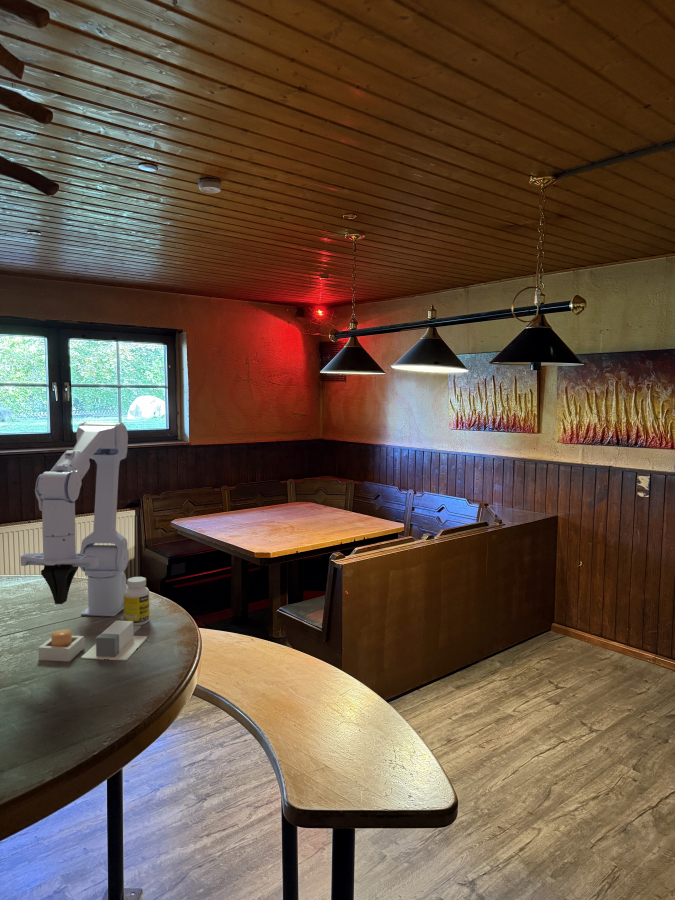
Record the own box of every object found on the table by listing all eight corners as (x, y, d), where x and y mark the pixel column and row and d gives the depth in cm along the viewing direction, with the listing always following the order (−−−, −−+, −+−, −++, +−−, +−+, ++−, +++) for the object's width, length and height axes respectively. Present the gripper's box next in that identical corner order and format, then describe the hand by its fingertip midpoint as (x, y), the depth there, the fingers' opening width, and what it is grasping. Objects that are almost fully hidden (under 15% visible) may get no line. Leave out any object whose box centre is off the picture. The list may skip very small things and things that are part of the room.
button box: (55, 646, 121) (54, 634, 121) (84, 648, 121) (84, 636, 121) (38, 660, 115) (38, 647, 115) (69, 661, 115) (69, 648, 115)
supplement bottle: (141, 627, 132) (141, 584, 131) (119, 625, 133) (118, 581, 132) (154, 618, 137) (153, 576, 136) (132, 616, 138) (131, 574, 137)
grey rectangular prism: (116, 637, 126) (116, 619, 126) (133, 637, 126) (133, 620, 125) (96, 656, 117) (95, 637, 117) (114, 656, 117) (114, 638, 116)
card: (113, 626, 132) (113, 624, 132) (140, 627, 132) (140, 625, 132) (105, 633, 128) (105, 631, 128) (133, 634, 128) (133, 633, 128)
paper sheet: (105, 635, 127) (105, 634, 127) (147, 637, 127) (147, 636, 127) (80, 658, 116) (80, 657, 116) (126, 660, 116) (126, 659, 116)
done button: (57, 643, 120) (57, 629, 119) (75, 644, 120) (75, 630, 119) (48, 651, 116) (47, 636, 116) (66, 652, 116) (65, 637, 116)
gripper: (10, 537, 112) (12, 608, 113) (86, 539, 111) (87, 611, 113) (31, 528, 119) (33, 595, 120) (103, 531, 118) (104, 598, 120)
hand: (60, 602), depth 117 cm, fingers closed
